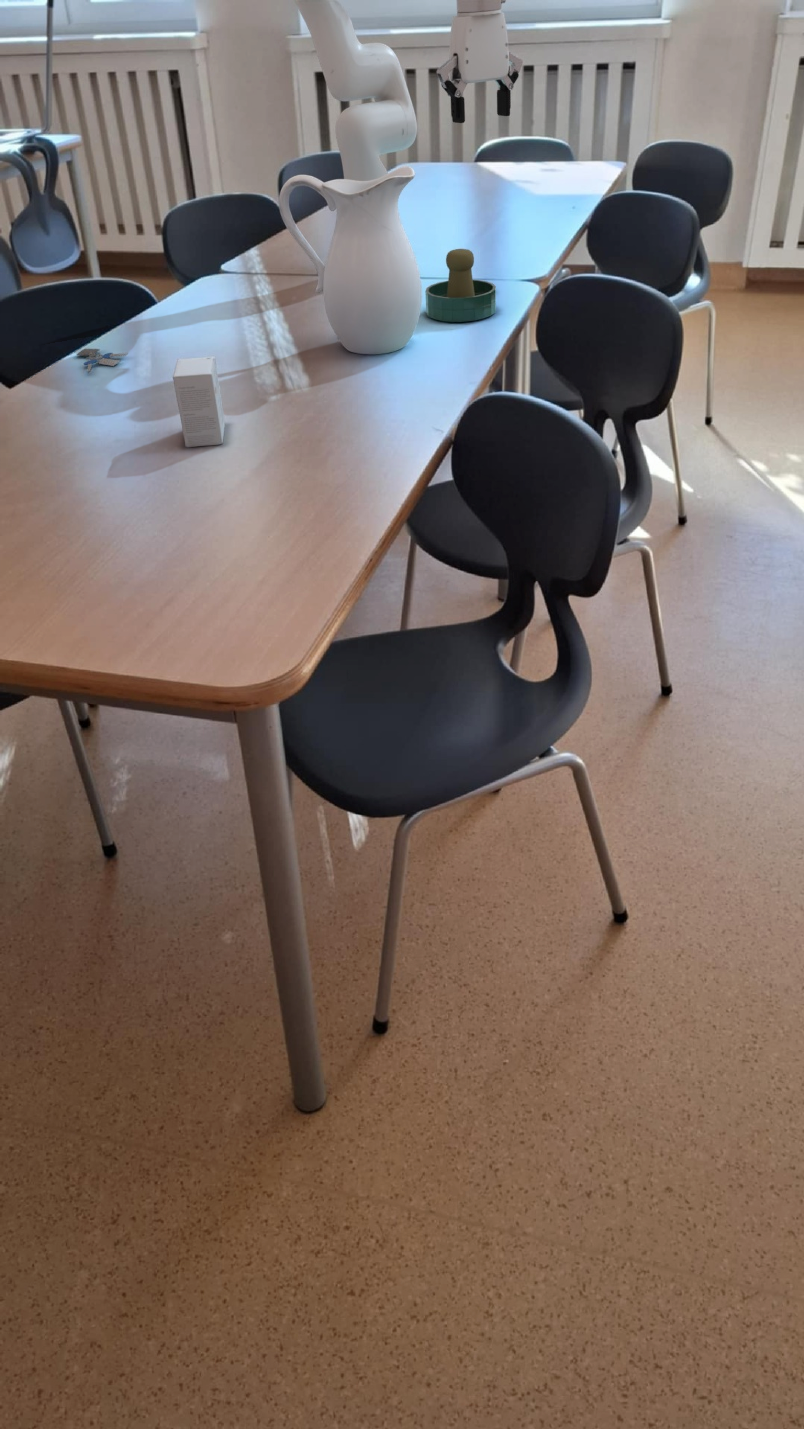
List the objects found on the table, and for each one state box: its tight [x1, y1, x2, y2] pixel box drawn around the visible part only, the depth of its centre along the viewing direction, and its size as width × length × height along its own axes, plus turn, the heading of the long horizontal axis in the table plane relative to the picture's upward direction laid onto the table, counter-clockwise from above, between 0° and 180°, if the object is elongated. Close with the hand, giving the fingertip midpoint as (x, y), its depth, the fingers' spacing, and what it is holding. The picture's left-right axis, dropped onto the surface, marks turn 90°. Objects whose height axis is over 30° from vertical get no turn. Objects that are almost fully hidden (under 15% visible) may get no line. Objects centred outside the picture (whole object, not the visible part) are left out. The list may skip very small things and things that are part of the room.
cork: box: [445, 248, 475, 298], centre depth 199 cm, size 6×6×11 cm
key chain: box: [76, 348, 128, 373], centre depth 190 cm, size 14×8×1 cm, turn 23°
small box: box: [172, 356, 226, 448], centre depth 155 cm, size 8×6×10 cm
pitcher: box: [278, 165, 423, 355], centre depth 182 cm, size 24×17×28 cm
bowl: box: [424, 279, 497, 323], centre depth 201 cm, size 13×13×4 cm
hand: (481, 119), depth 191 cm, fingers open, 9 cm apart
